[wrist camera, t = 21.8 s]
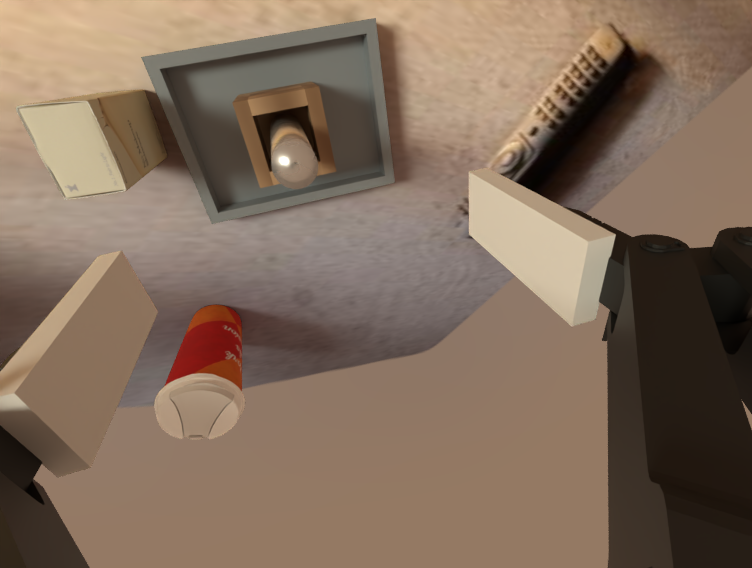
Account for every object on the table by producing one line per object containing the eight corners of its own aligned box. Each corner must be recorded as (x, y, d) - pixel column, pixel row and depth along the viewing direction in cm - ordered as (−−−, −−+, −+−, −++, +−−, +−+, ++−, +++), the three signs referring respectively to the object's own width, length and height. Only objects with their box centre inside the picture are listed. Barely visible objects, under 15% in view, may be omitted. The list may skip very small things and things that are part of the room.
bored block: (261, 168, 39) (260, 188, 33) (238, 94, 35) (232, 102, 29) (326, 154, 40) (336, 171, 34) (310, 81, 36) (319, 86, 30)
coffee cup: (245, 350, 51) (237, 444, 39) (179, 344, 48) (147, 444, 36) (256, 300, 48) (251, 387, 35) (185, 291, 45) (153, 381, 32)
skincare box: (169, 157, 37) (131, 194, 27) (120, 162, 36) (64, 204, 26) (143, 85, 34) (90, 99, 24) (89, 90, 33) (11, 106, 23)
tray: (215, 214, 41) (212, 224, 39) (150, 57, 33) (141, 57, 30) (388, 175, 43) (394, 182, 41) (368, 20, 35) (375, 18, 33)
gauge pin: (275, 148, 36) (279, 193, 25) (266, 116, 35) (265, 147, 23) (305, 142, 37) (322, 183, 25) (297, 110, 35) (312, 138, 24)
